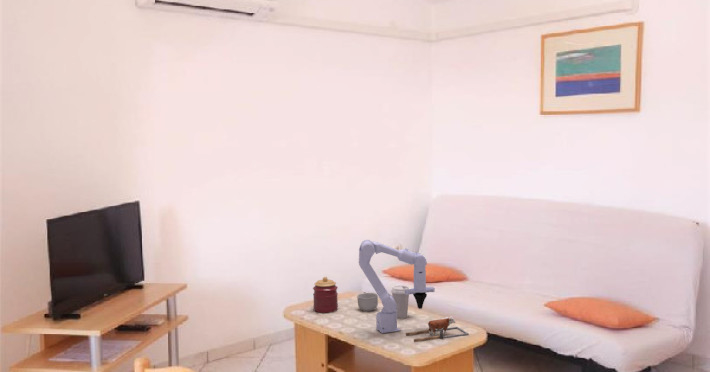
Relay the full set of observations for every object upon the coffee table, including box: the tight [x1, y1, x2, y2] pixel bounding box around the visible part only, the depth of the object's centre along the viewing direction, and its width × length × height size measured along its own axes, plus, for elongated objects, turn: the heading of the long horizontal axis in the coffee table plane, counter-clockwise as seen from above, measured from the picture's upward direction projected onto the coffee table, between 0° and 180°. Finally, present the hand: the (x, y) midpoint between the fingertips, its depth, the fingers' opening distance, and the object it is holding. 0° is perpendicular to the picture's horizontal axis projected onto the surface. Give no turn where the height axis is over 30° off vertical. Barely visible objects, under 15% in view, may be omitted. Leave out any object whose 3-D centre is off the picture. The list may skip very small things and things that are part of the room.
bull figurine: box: [427, 315, 456, 336], centre depth 283 cm, size 4×13×8 cm, turn 106°
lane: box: [436, 326, 470, 339], centre depth 284 cm, size 13×11×1 cm
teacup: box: [356, 292, 379, 312], centre depth 325 cm, size 14×11×8 cm
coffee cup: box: [390, 285, 410, 319], centre depth 310 cm, size 10×10×15 cm
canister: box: [312, 276, 339, 314], centre depth 325 cm, size 13×13×18 cm
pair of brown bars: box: [405, 329, 444, 343], centre depth 280 cm, size 14×12×4 cm
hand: (419, 308), depth 291 cm, fingers closed
